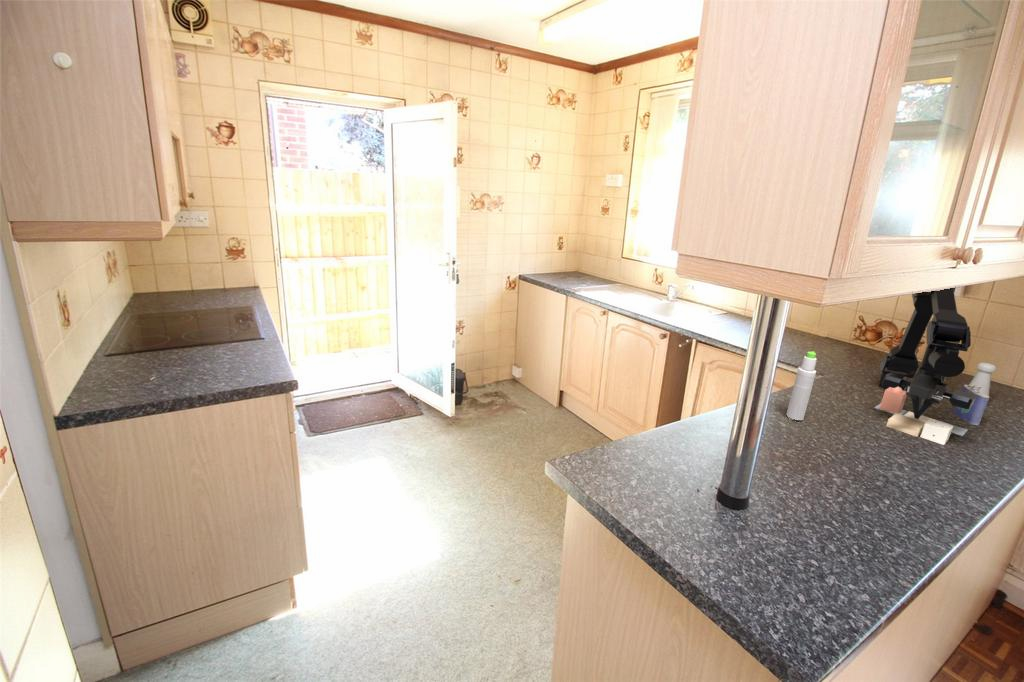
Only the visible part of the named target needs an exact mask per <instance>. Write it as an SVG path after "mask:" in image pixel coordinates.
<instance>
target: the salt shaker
mask: <svg viewBox="0 0 1024 682" xmlns="http://www.w3.org/2000/svg"><path fill="white" fill-rule="evenodd" d="M977 370H978V371H977V372H976V373H975V375H974V377H973V378H972V379H971V381H970V382H969V384H968V385H971V386H972V384H973V383H974V385H975V384H978V385H979V386H980V385H981V386H982V388H980V390H979V391H980V392H981V393H983V394H985V395H987V396H989V397H990V389H991V380H992V374H993V373H995V372H996V371H997V366H995V365H994V364H992V363H988V362H980V363H978V364H977ZM974 385H973V387H974Z"/></svg>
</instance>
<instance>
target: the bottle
mask: <svg viewBox="0 0 1024 682" xmlns="http://www.w3.org/2000/svg"><path fill="white" fill-rule="evenodd" d="M816 355H817V353H816V352H815V351H807V353H806V355H804V356H803V359H802V364H801V366H799V367H798V368H797V372H796V376H795V379H794V384H793V387H792V391H791V393H790V394H791V395H790V400H789V403H788V405H787V406H788V407H787V410H786V414H785V416H786V415H787V416H788V417H790V418H792V419H795V420H803V421H804V418H805V415H806V412H807V411H806V410H807V407H808V404H809V399H810V397H811V392H812V389H813V385H814V381H815V377H816V374H817V370H815V368H816V364H817V360H818V359H817V357H816Z"/></svg>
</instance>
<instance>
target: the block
mask: <svg viewBox="0 0 1024 682" xmlns="http://www.w3.org/2000/svg"><path fill="white" fill-rule="evenodd" d="M904 415H905V414H903V415H901V414H898V413H896V414H892V416H891V417H889V418H888V420H887V421H886V422H887V423H886V427H888V428H889V429H892V430H896V431H899V432H902V433H905V434H908V435H911V436H912V437H920V436H921V433H922V431H923V428H924V425H925V423H926V422H923V421H919V420H916V419H913V418H910V417H907V416H904Z"/></svg>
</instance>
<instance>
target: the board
mask: <svg viewBox="0 0 1024 682" xmlns="http://www.w3.org/2000/svg"><path fill="white" fill-rule="evenodd" d="M880 405H881V402H880V403H879V404H877V405H876V406H874V407H873V408H874V409H877V410H879V411H880V410H881V411H883V412H887V413H889V414H892V415H894V414H896V413H893V412H890V411H887V410H884V409H881V408H880ZM898 414H901V415H904V416H907V417H910V418H913V419H915V418H914V411H909V410H908V411H907V410H906V409H904V408H902V411H900V412H899V413H898ZM929 419H932V420H936V419H934V418H931V417H928V416H925V415H922V416H921V417H920V418H919V419H916V420H919V421H923V422H927V421H928V420H929ZM938 421H939V422H942V423H945V424H949V425H952V426H953V429H952V431H951V434H954V435H957V436H958V435H959V436H961V437H963V436H964V435H965V434H967V432H968V429H967V428H963V427H960V426H957V425H954V424H950V423H947V422H944V421H942V420H938Z"/></svg>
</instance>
